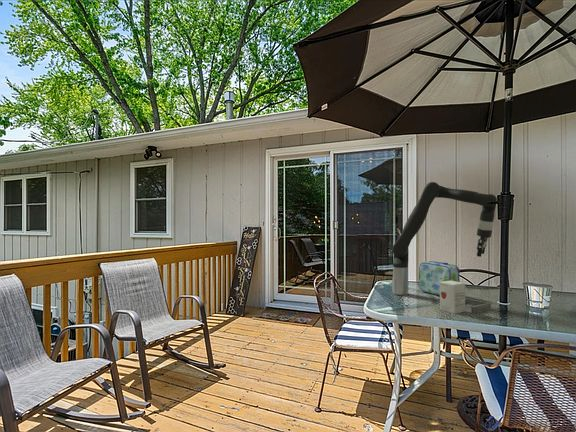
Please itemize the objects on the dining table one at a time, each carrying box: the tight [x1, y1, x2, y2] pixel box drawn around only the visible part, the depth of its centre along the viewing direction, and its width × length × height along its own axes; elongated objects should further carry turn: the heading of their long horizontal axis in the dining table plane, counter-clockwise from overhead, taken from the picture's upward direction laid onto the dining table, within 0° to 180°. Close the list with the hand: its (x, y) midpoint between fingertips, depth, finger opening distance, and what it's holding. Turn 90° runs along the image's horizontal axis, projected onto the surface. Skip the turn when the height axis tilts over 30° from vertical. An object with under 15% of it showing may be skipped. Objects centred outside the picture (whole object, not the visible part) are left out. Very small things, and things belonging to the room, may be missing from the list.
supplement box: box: [439, 281, 466, 314], centre depth 181 cm, size 9×9×15 cm
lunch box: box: [418, 260, 461, 297], centre depth 220 cm, size 26×11×21 cm, turn 25°
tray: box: [465, 297, 492, 314], centre depth 188 cm, size 16×16×3 cm
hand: (480, 254), depth 205 cm, fingers open, 8 cm apart
